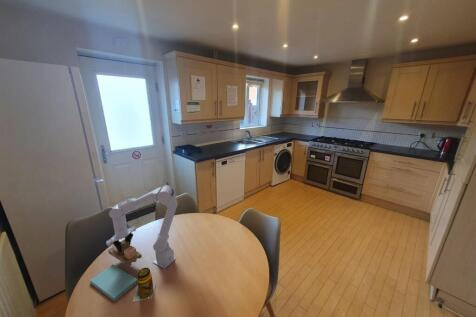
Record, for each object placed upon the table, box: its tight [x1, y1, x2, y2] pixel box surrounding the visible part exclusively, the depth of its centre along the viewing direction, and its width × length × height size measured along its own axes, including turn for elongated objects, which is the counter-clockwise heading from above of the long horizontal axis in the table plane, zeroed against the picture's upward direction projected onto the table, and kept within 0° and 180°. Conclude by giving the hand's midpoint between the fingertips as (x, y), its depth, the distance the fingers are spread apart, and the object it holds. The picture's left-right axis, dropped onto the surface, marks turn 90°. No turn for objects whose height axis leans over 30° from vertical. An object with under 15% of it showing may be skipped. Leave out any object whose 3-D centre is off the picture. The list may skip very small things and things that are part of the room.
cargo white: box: [111, 239, 122, 252], centre depth 104 cm, size 4×4×4 cm
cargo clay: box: [124, 245, 137, 260], centre depth 99 cm, size 4×4×4 cm
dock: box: [89, 264, 138, 303], centre depth 92 cm, size 20×11×2 cm, turn 63°
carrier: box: [108, 238, 142, 267], centre depth 101 cm, size 18×7×8 cm, turn 62°
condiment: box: [132, 267, 157, 303], centre depth 86 cm, size 7×8×12 cm
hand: (124, 249), depth 101 cm, fingers closed on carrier, 4 cm apart
